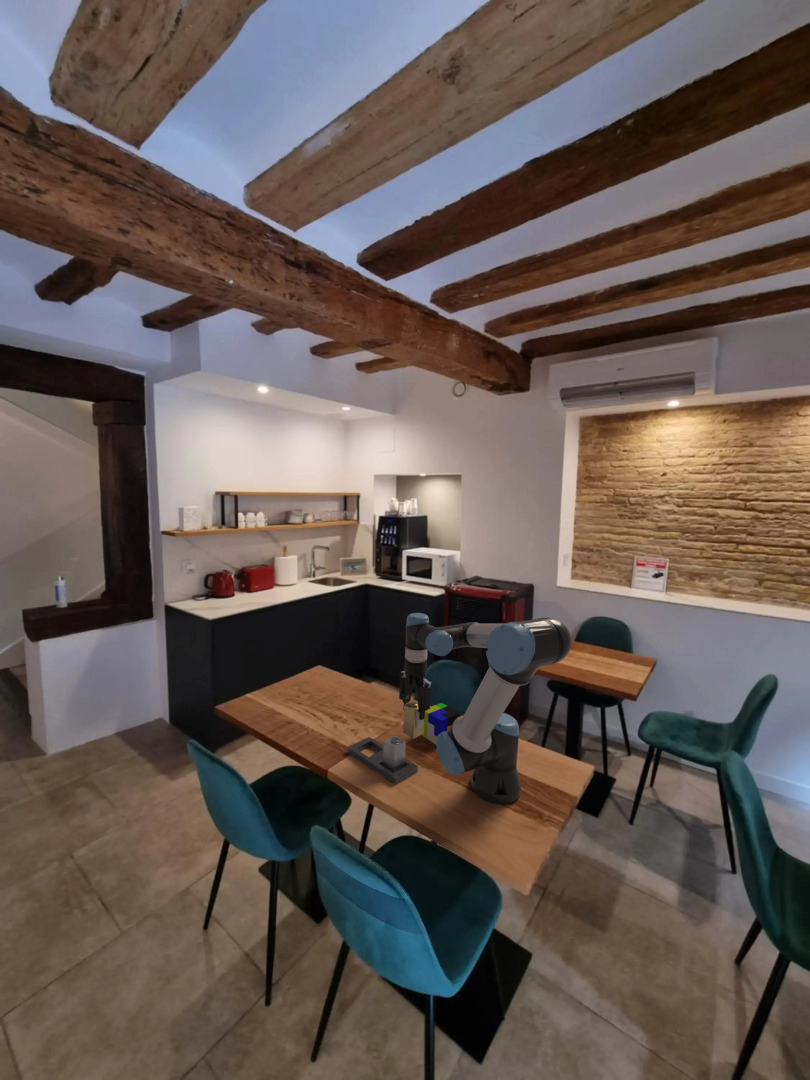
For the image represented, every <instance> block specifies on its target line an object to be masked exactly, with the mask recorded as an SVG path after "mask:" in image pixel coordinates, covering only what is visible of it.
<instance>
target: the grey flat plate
mask: <svg viewBox="0 0 810 1080" xmlns="http://www.w3.org/2000/svg"><path fill="white" fill-rule="evenodd" d="M369 748H373V749H374V750H376V751H377V752H376V753H374V754H372V755H370V756H368V755H367V754H365V753H363V752H362V751H364V750H367V749H369ZM346 753H347V754H349V755H350V756H352V757H354V759H356V760H357V761H359V762H361V763H362V764H364V765H365V766H366V767H368V768H369V769H371V770H373V771H374V772H376V773H377V774H378V775H380V776H381V777H383V779H386V780H387V781H389V782H390V783H392V784H393V785H395V786H397V785H398V784H400V783H402V782H403V781H405V780H406V779H408V778H410V777H411V776H413V775H415V774H417V773H418V771H419V769H418V768H419V766H418V765H417V764H415V763H414V762H412V761H410V760H409V759H407V758H406V757H405V767H404V768H402V769H400V770H399V771H397V772H395V773H392V772H391V771H389V770H388V769H386V768H385V767H383V753H384V744H383V743H381V742H379V741H377V740H375V738H373V737H371V736H368V737H366V738H364V739H362V740H359V741H357V742H355V743H353V744H351V745H349V746H347V752H346Z"/></svg>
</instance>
